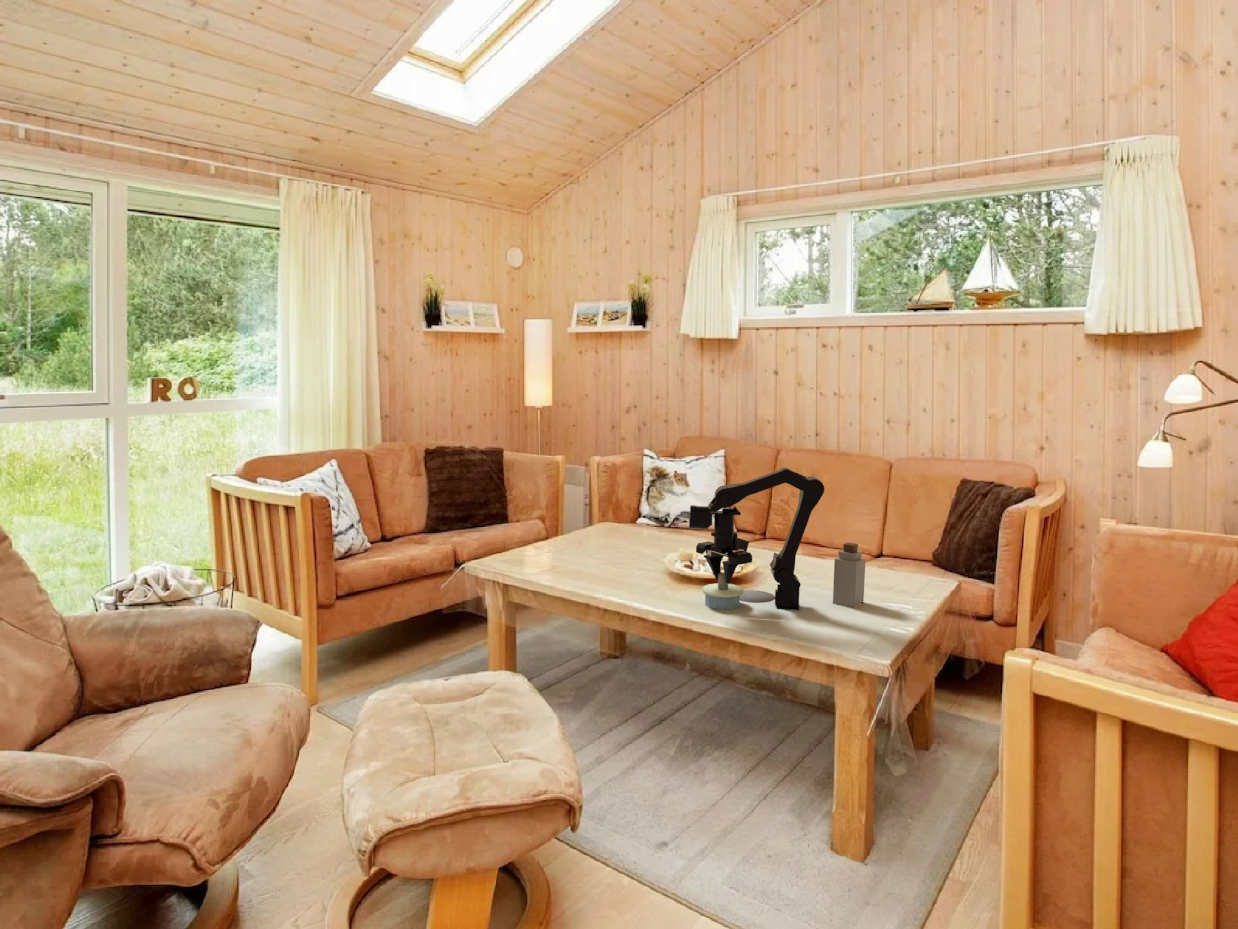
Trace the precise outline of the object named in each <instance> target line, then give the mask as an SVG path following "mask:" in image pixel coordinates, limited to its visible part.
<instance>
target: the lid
mask: <svg viewBox="0 0 1238 929" xmlns="http://www.w3.org/2000/svg"><path fill="white" fill-rule="evenodd" d="M702 592H703V593H704V594H707V595H710V596H714V597H725V598H727V597H737V596H740V595H742V594H743V593H744V588H743V587H742V586H740V585H736V584H733V583H727V582H726V579H725V573H724V572H720V573H718V580H717V582H716V583H709V584H706V585H704V586H702Z"/></svg>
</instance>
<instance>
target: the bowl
mask: <svg viewBox="0 0 1238 929" xmlns="http://www.w3.org/2000/svg"><path fill="white" fill-rule="evenodd" d="M704 594H705V593H704ZM704 600H705V601H704V605H705V606H706V607H709V608H711V609H715V610H734V609H737V608H739V607H740V604H741V601H740V596H737V597H727V598H725V597H714V596H710V595H707V594H705V599H704Z"/></svg>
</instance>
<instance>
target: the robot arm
mask: <svg viewBox="0 0 1238 929" xmlns="http://www.w3.org/2000/svg"><path fill="white" fill-rule="evenodd" d="M783 484H788V485H789V486H792V487H794V488H796V489H798V490H799V494H798V504H797V508H796V511H795V512H794V516H793V519H792V521H791V525H790V527H789V530H788V533H787V536H786V538H785V541H784V545H783V547H782V549H781V550H780V551H779V553H778V552H777V553H776V552H773V556H772V560H771V562H770V563H769V566H770V571H771V572H770V573H771V575H772V576H773V579H774V581H775V582H777V586H776V587H777V588H776V589H774V596H775V599H774V605H775V606H776V609H777V610H787V611H788V610H790V611H791V610H792V611H800V589H801V588H800V587H801V581H800V580H799V578H798V577H797V575H796V574H795V568H796V556H797V553H798V550H799V547H800V545H801V542H802V539H803V536H804V534H805V530H806V528H807V525H808V522H809V519H810V516H811V515H812V512H813V510H814V508H815V507H816V506H817V505H818V504H819V501H820V500H821V498H822V497H823V495H824V494H825V486H824V484H823V482H822V481H821V480H820V479H819V478H818V477H815V476H813V475H812V476H811V475H810V476H805V475H803V474H801V473H798V472H796V471H793V470H792V469H790V468H788V467H782V468H780V469H778V470H776V471H772V472H770V473H767V474H764V475H761V476H759V477H756V478H753V479H749V480H747V481H745V482H739V483H732V484H725V485H721V486H719V487H717V488H716V490H715V492H714V497H713V498H712V500H711V501H710V502H709V503H708V504H707V506H705V505H704V506H703V505H702V506H698V505H690V506H689V515H688V516H689V518H688V519H689V521H688V523H689V524H688V529H689V530H690V529H691V530H692V529H693V530H709V528H710V527H711V526H713V522H714V528H713V529H714V530H713V531H711V532H710V536H711V537H713V541H703V542H698V544H697V545H696V547H695V549H696V550H695V553H697V554H700V555H703V554H704V553H705V555H703V558H705V560H706V562H707V563H708V567H710V569H711V571H712V574H713V576H714V578H715V580H717V581H718V573H721V570H722V567H723V573H725V579H726V582H727V583H728V584H731V582H732V579H733V576H734V574H735V571H736V569H737V567H738V566H740V565H747V564H749V563H753V554H752V553H751V552H748V547H749V544H750V541H749V540H745V539H742V538H740V537H739V538H738V532H735V516H741V514H742V513H741V510H740V509H738V508H737V506H736V504H738V503H739V502H741V501H743V500H745V499H746V498H747V497H749V496H753V495H755V494H758V493H760V492H763V491H766V490H769V489H771V488H774V487H777V486H780V485H783ZM713 516H714V517H713ZM713 518H714V521H713ZM724 557H726V558H727V560H724V561H722V560H723V559H724ZM721 565H722V567H721Z"/></svg>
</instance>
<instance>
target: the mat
mask: <svg viewBox="0 0 1238 929" xmlns="http://www.w3.org/2000/svg"><path fill="white" fill-rule="evenodd" d="M773 601H775V594H773V593H770V592H768V591H763V590H758V589H757V590H756V589H754V590H753V589H745V590H744V593H743V594H742V595H740V602H745V603H753V604H754V603H755V604H760V603H761V604H762V603H770V602H773Z"/></svg>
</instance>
